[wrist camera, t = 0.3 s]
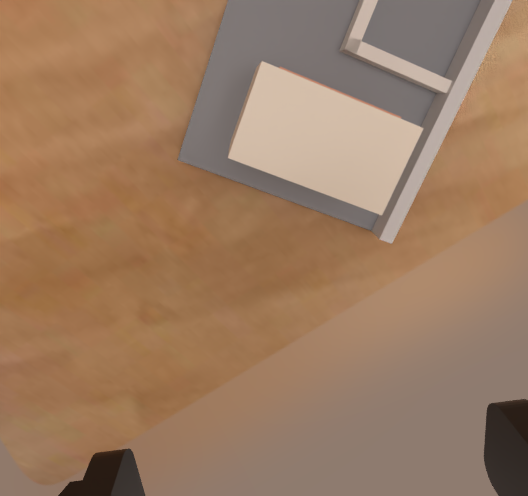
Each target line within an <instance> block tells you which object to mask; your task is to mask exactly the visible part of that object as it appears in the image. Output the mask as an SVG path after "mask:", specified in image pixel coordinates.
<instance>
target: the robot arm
mask: <svg viewBox="0 0 528 496" xmlns="http://www.w3.org/2000/svg"><path fill="white" fill-rule="evenodd" d="M484 461H485V466H486V471H487V473H488V477H489V479H490V482H491V483H492V486H493V487H494V489H495V490H496V492H497V494H498V495H499V496H528V400H526V399H521V400H513V401H505V402H498V403H491V404H489V405H488V408H487V416H486V432H485V447H484ZM59 496H145V493H144V489H143V486H142V482H141V479H140V476H139V472H138V468H137V465H136V461H135V458H134V455H133V452H132V451H131V449H122V450H114V451H107V452H99V453H95V454H94V455H93V457H92V458H91V461H90V463H89V466H88V468H87V471H86V473H85V476H84V478H83V480H81V481H74V482H70V483H69V484H68V485H67V486H66V487H65V489H64V490H63V491H62V492H61V493H60V494H59Z"/></svg>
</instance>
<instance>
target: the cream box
mask: <svg viewBox="0 0 528 496" xmlns="http://www.w3.org/2000/svg"><path fill="white" fill-rule="evenodd" d="M423 129H424V128H422V127H420V126H417V125H415V124H413V123H410V122H408V121H405V120H403V119H401V117H400V116H398V115H395V114H393V113H390V112H388V111H386V110H383V109H381V108H378V107H376V106H374V105H371V104H369V103H366V102H364V101H362V100H359V99H357V98H354V97H352V96H350V95H347V94H345V93H342V92H340V91H338V90H335V89H333V88H330V87H328V86H326V85H323V84H321V83H318V82H316V81H314V80H311V79H309V78H306V77H304V76H302V75H299V74H297V73H294V72H292V71H290V70H287V69H285V68H282V67H279V68H278V67H275V66H273V65H271V64H268V63H266V62H263V61H261V63H260V64H259V65H258V66H257V67H256V70H255V73H254V76H253V78H252V81H251V84H250V87H249V90H248V93H247V96H246V98H245V101H244V104H243V107H242V110H241V113H240V116H239V118H238V121H237V124H236V127H235V130H234V133H233V136H232V138H231V142H230V148H229V153H228V158H229V159H232V160H234V161H237V162H240V163H242V164H245V165H248V166H251V167H253V168H256V169H259V170H261V171H264V172H267V173H269V174H272V175H275V176H277V177H280V178H283V179H285V180H288V181H291V182H293V183H296V184H299V185H301V186H304V187H307V188H309V189H312V190H315V191H318V192H320V193H323V194H326V195H328V196H331V197H334V198H336V199H339V200H342V201H344V202H347V203H350V204H352V205H355V206H358V207H360V208H363V209H366V210H368V211H371V212H374V213H376V214H379V215H382V214H383V212H384V210H385V208H386V206H387V204H388V202H389V200H390V198H391V196H392V194H393V191H394V189H395V187H396V185H397V183H398V181H399V179H400V177H401V175H402V173H403V170H404V168H405V166H406V164H407V162H408V160H409V158H410V156H411V154H412V152H413V150H414V147H415V145H416V143H417V141H418V139H419V137H420V135H421V133H422V131H423Z"/></svg>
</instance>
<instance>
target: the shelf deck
mask: <svg viewBox="0 0 528 496" xmlns="http://www.w3.org/2000/svg"><path fill="white" fill-rule="evenodd" d="M511 2H512V0H228V3H227V6H226V9H225V12H224V15H223V18H222V22H221V25H220V28H219V31H218V34H217V37H216V40H215V44H214V47H213V50H212V53H211V56H210V59H209V62H208V66H207V69H206V72H205V75H204V78H203V81H202V85H201V88H200V91H199V94H198V97H197V100H196V103H195V107H194V110H193V113H192V116H191V119H190V122H189V125H188V129H187V132H186V135H185V138H184V141H183V144H182V148H181V151H180V154H179V157H178V160H179V161H182V162H184V163H187V164H190V165H192V166H195V167H198V168H201V169H203V170H206V171H209V172H212V173H214V174H217V175H220V176H223V177H225V178H228V179H231V180H234V181H236V182H239V183H242V184H244V185H247V186H250V187H253V188H255V189H258V190H261V191H264V192H266V193H269V194H272V195H275V196H277V197H280V198H283V199H286V200H288V201H291V202H294V203H297V204H299V205H302V206H305V207H307V208H310V209H313V210H316V211H318V212H321V213H324V214H327V215H329V216H332V217H335V218H338V219H340V220H343V221H346V222H349V223H351V224H354V225H357V226H359V227H362V228H365V229H368V230H370V231H372V232H373V233H374V234H375V235H376V236H377V237H378V239H380V240H383V241H385V242H388V243H391V244H392V242H393V240H394V238H395V237H396V235H397V233H398V231H399V229H400V227H401V225H402V223H403V221H404V219H405V217H406V215H407V213H408V211H409V209H410V207H411V205H412V203H413V201H414V198H415V196H416V194H417V192H418V190H419V188H420V186H421V184H422V182H423V180H424V178H425V176H426V174H427V172H428V170H429V168H430V166H431V164H432V162H433V160H434V158H435V156H436V154H437V152H438V150H439V148H440V146H441V144H442V142H443V140H444V138H445V136H446V134H447V132H448V130H449V128H450V126H451V124H452V122H453V120H454V118H455V116H456V114H457V112H458V109H459V107H460V105H461V103H462V101H463V99H464V97H465V95H466V93H467V91H468V89H469V87H470V85H471V83H472V81H473V79H474V77H475V75H476V73H477V71H478V69H479V67H480V65H481V63H482V61H483V59H484V57H485V55H486V53H487V51H488V49H489V47H490V45H491V43H492V41H493V39H494V37H495V35H496V33H497V31H498V29H499V27H500V25H501V23H502V20H503V18H504V16H505V14H506V12H507V10H508V8H509V6H510V4H511ZM261 61H263V62H266V63H268V64H271V65H273V66H275V67H278V68H279V67H282V68H285V69H287V70H290V71H292V72H294V73H297V74H299V75H302V76H304V77H306V78H309V79H311V80H314V81H316V82H318V83H321V84H323V85H326V86H328V87H330V88H333V89H335V90H338V91H340V92H342V93H345V94H347V95H350V96H352V97H354V98H357V99H359V100H362V101H364V102H366V103H369V104H371V105H374V106H376V107H378V108H381V109H383V110H386V111H388V112H390V113H393V114H395V115H398V116H400V117H401V119H403V120H405V121H408V122H410V123H413V124H415V125H417V126H420V127H422V128H424V129H423V131H422V133H421V135H420V137H419V139H418V141H417V143H416V145H415V147H414V150H413V152H412V154H411V156H410V158H409V160H408V162H407V164H406V166H405V168H404V170H403V173H402V175H401V177H400V179H399V181H398V183H397V185H396V187H395V189H394V191H393V194H392V196H391V198H390V200H389V202H388V204H387V206H386V208H385V210H384V212H383V214H382V215H379V214H376V213H374V212H371V211H368V210H366V209H363V208H360V207H358V206H355V205H352V204H350V203H347V202H344V201H342V200H339V199H336V198H334V197H331V196H328V195H326V194H323V193H320V192H318V191H315V190H312V189H309V188H307V187H304V186H301V185H299V184H296V183H293V182H291V181H288V180H285V179H283V178H280V177H277V176H275V175H272V174H269V173H267V172H264V171H261V170H259V169H256V168H253V167H251V166H248V165H245V164H242V163H240V162H237V161H234V160H232V159H229V158H228V153H229V148H230V142H231V138H232V136H233V133H234V130H235V127H236V124H237V121H238V118H239V116H240V113H241V110H242V107H243V104H244V101H245V98H246V96H247V93H248V90H249V87H250V84H251V81H252V78H253V76H254V73H255V70H256V67H257V66H258V65H259V64H260V63H261Z"/></svg>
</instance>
